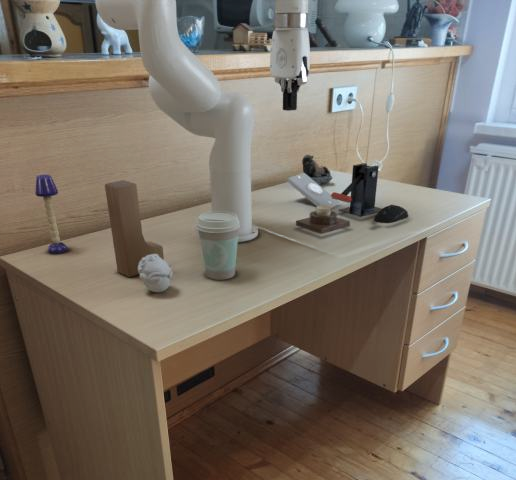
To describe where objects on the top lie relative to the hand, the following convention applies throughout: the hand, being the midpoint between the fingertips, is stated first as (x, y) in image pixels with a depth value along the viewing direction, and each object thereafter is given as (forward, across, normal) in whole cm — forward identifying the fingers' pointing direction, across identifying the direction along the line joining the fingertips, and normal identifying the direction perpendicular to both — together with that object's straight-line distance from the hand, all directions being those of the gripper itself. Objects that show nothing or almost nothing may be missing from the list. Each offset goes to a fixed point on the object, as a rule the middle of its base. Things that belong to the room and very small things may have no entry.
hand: (289, 109), depth 132 cm
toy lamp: (+27, -11, -59) cm, 66 cm away
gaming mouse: (+27, +21, +16) cm, 38 cm away
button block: (+26, +15, -1) cm, 30 cm away
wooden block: (+27, +12, -49) cm, 57 cm away
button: (+23, +15, -1) cm, 27 cm away
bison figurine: (+27, -21, +30) cm, 45 cm away
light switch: (+27, -4, +12) cm, 30 cm away
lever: (+19, +11, +14) cm, 26 cm away
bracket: (+26, +11, +17) cm, 33 cm away
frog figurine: (+27, +24, -52) cm, 63 cm away
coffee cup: (+27, +24, -38) cm, 52 cm away
